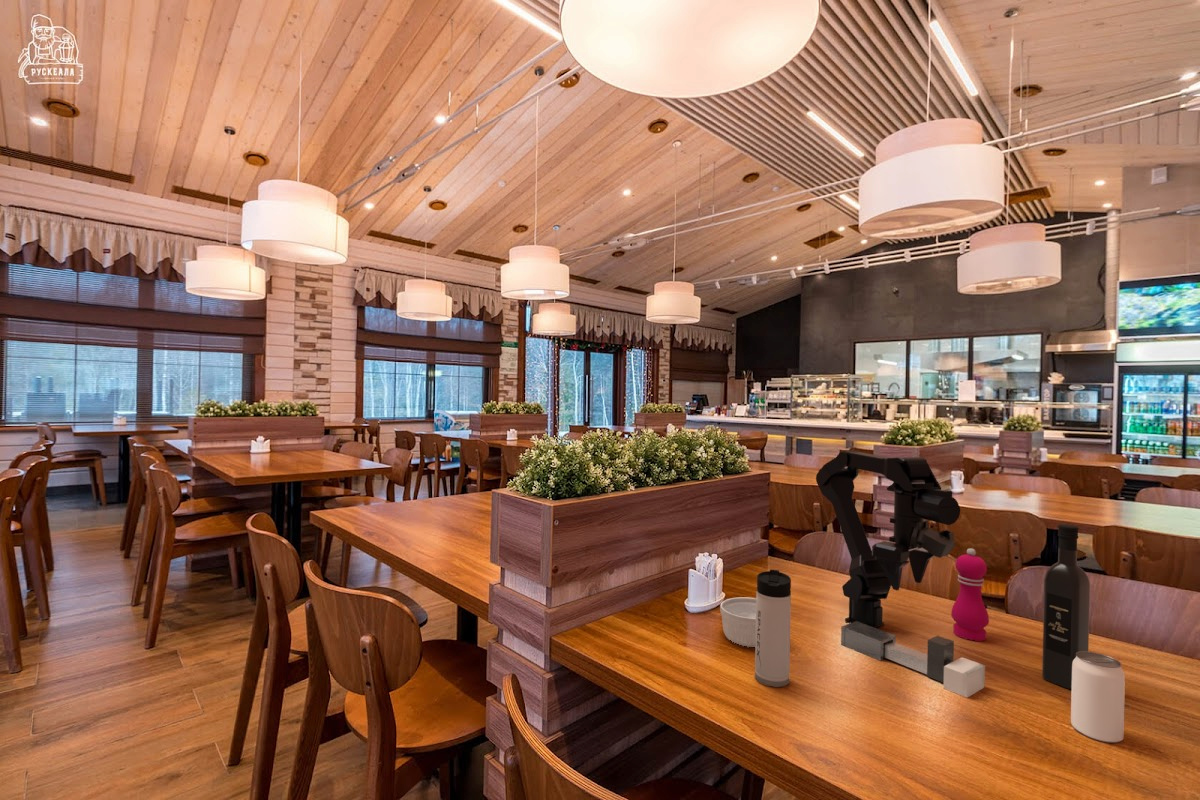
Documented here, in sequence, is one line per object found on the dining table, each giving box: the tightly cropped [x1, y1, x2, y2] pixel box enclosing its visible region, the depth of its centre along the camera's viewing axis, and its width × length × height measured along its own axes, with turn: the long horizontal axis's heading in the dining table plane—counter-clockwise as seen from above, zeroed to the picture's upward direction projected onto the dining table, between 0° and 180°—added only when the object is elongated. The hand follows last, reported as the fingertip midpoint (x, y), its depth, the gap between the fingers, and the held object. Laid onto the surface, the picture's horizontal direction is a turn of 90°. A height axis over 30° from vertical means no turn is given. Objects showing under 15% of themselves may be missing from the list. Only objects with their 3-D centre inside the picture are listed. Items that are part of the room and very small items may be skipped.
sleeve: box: [840, 621, 896, 662], centre depth 122 cm, size 9×6×4 cm, turn 34°
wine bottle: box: [1041, 524, 1091, 691], centre depth 109 cm, size 6×6×30 cm
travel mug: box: [754, 569, 792, 688], centre depth 108 cm, size 6×7×20 cm
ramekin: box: [719, 596, 756, 648], centre depth 127 cm, size 13×13×7 cm
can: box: [1070, 650, 1126, 744], centre depth 93 cm, size 6×6×12 cm
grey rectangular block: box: [943, 656, 986, 699], centre depth 106 cm, size 4×7×4 cm, turn 124°
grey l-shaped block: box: [883, 635, 955, 684], centre depth 112 cm, size 16×4×7 cm, turn 34°
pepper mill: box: [950, 548, 990, 642], centre depth 130 cm, size 7×7×20 cm
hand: (907, 586), depth 124 cm, fingers open, 9 cm apart
